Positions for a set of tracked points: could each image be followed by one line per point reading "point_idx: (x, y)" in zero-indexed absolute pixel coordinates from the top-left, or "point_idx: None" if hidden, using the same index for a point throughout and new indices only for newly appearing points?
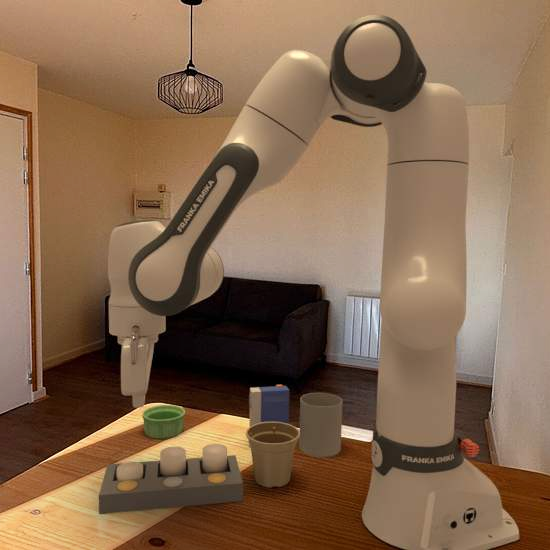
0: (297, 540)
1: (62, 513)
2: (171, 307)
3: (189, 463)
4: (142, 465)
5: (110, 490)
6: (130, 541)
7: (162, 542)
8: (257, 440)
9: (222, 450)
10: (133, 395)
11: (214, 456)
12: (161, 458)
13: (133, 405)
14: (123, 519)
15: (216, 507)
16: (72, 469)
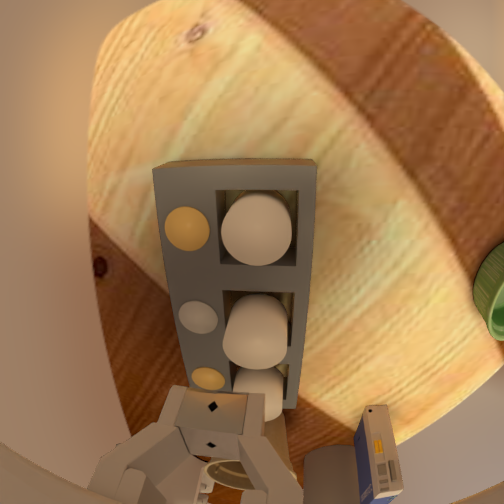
0: (124, 396)
1: (181, 86)
2: None
3: None
4: (262, 264)
5: (171, 192)
6: (96, 230)
7: (98, 274)
8: (282, 450)
9: None
10: (143, 433)
11: None
12: (240, 319)
13: (171, 390)
14: (150, 211)
15: None
16: (388, 71)
